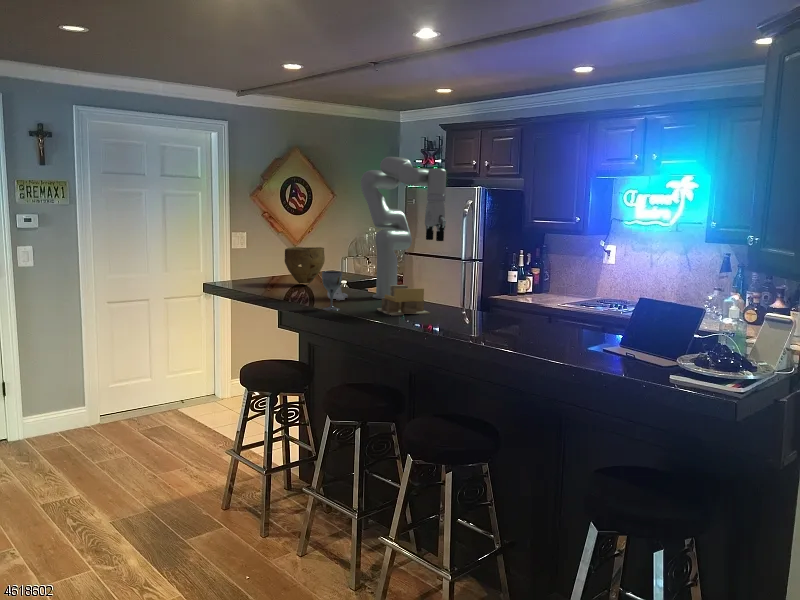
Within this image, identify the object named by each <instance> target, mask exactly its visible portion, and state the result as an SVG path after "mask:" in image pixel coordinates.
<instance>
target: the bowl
mask: <svg viewBox="0 0 800 600" xmlns="http://www.w3.org/2000/svg"><path fill="white" fill-rule="evenodd" d="M284 263H285V266H286V268H287V270H288V272H289V273H290V275H291V276H292V278H293V279H294V280H295V281H296V282H297V283H298V284H300V283H309V284H310V283H312V282H313V281H314V280H315V279H316V277H317V276H318V275H319V273H320V272H321V271H322V269H323V266H324V264H325V247H321V246H319V247H318V246H317V247H313V246H312V247H308V246H307V247H306V246H305V247H303V246H293V247H287V248H284Z"/></svg>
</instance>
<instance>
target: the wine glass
mask: <svg viewBox="0 0 800 600" xmlns="http://www.w3.org/2000/svg"><path fill="white" fill-rule="evenodd" d="M321 279H322V284H323V287H324V289H325V290H326V291H327V293H328V292H329V294H330V298H329V299H330V304H329V306H328V307H324V308H322V310H323V311H340V310H341V309H340V308H339V307H335V306H333V301H334V300H333V295H334V293H335V292H336V290H337V289H338V288H339V287H341V285H342V281H343V280H342V279H343V271H339V270H338V271H336V270H323V271H322V272H321Z"/></svg>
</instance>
